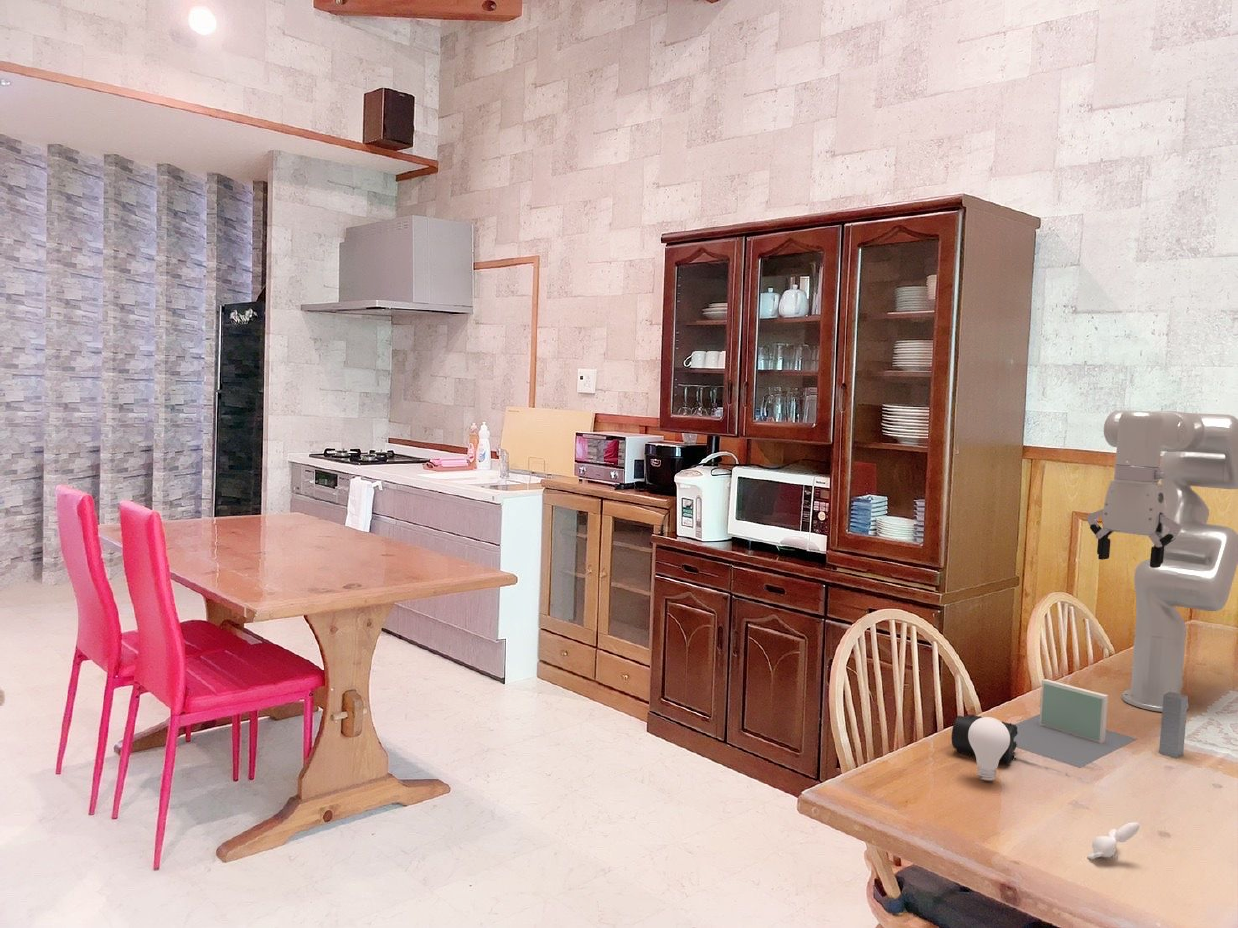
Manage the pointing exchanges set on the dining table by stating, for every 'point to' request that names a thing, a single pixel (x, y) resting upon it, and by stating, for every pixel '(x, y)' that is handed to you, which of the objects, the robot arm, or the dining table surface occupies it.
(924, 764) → the dining table surface
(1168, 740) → the metal bar
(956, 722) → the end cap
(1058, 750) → the mat
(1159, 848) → the dining table surface
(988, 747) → the light bulb
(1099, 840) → the rabbit figurine
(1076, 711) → the tile
